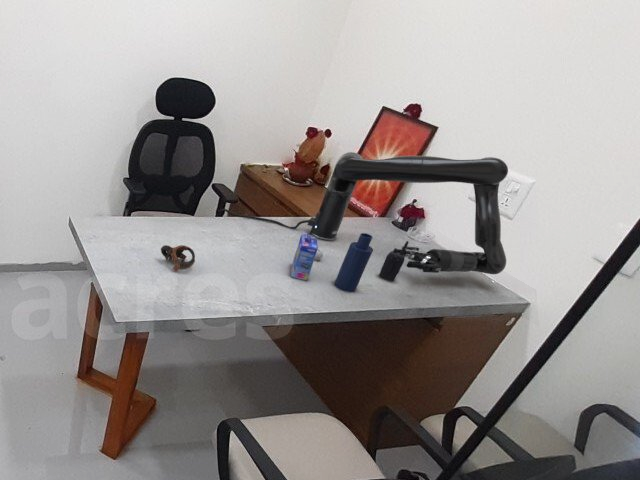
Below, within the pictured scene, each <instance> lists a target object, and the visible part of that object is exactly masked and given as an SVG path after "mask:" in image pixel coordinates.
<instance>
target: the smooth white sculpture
mask: <svg viewBox="0 0 640 480" xmlns="http://www.w3.org/2000/svg"><path fill="white" fill-rule="evenodd" d="M323 256H324V253H323V252H322V251H321V250H320V249H319V248H318V250H317V253H316V256H315V259H314V261H319V260H321V259H322V258H323Z"/></svg>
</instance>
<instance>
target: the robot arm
mask: <svg viewBox="0 0 640 480" xmlns="http://www.w3.org/2000/svg"><path fill="white" fill-rule="evenodd" d="M508 167H509V166H508V165H507V163H506V162H505V161H504V160H502V159H501V158H498V157H493V156H488V157H487V156H486V157H482V158H477V159H453V158H446V157H439V156H432V155H431V156H430V155H400V156H394V157H388V158H383V159H382V158H381V159H374V158H373V159H371V158H363V157H362V156H361V155H360V154H359V153H357V152H355V151H349V152H345V153H344V154H342V155H341V156H339V158H338V159H337V161H336V163H335V165H334V168H333V172H332V174H331V177H330V178H329V179H330V180H329V182H328V183H327V187H326V190H325V193H324V196H323V198H322V201H321V204H320V207H319V210H318V211H317V212H316V215H315V217H314V216H311V217H310V219H306V220H301V221H298V223H296V225H295V226H289V225H286V224H285V223H282V222H280V221H277V220H274V219H271V218H265V217H258V216H254V215H247V214H240V213H235V212H233V211H230V210H229V209H226V208H222V209H220V210H218V212H219V213H222V212H226V213H228V214H229V215H232V216H235V217H239V218H246V219H252V220H257V221H264V222H268V223H272V224H277V225H279V226H282V227H284V228H287V229H290V230H296V229H298V227H300V225H302V224H307V226H310V227H311V228H310V232H309V235H310V236H313V237H317V239H319V240H323V241H330V242H331V241H335V240H336V238H337V235H338V232H339V230H340V227H341V224H342V222H343V220H344V217H345V214H346V212H347V210H348V207H349V204H350V201H351V200H352V196H353V194H354V191H355V189H356V186H357V183H358V181H359V182H361V181H383V182H395V183H396V182H397V183H412V184H414V183H415V184H436V183H437V184H438V183H462V184H469V185H470V184H471V185H473V191H474V199H475V213H474V214H475V215H474V243H475V246H477V247H478V248H481V249H482V250H483V251H461V250H453V249H438V248H432V249H429V250H428V251H423V250H421V251H420V248H419V247H415V246H407V248H406V250H405V252H404V254H403V255H405V258H407V259H408V261H407V263H406V265H405V266H406V267H407V268H409V269H418V270H420V271H422V272H423V273H437V274H438V273H440V272H445V273H452V272H458V273H459V272H460V273H469V272H475V273H483V274H488V275H499V274H500V273H502V272H503V271H504V270H505V269H506V265H507V256H506V253H505V250H504V249H505V248H504V246H503V244H502V241H501V239H502V223H501V222H502V221H501V213H500V205H499V189H500V188H499V187H500V184H501V183H502V182H503V181H504V180H505V179H506V177H507V176H508V175H509V168H508ZM403 247H404V245H403V246H402V247H401V248H397V249H398V250H397V252H398V253H401V251H402V249H403Z"/></svg>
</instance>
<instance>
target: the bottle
mask: <svg viewBox="0 0 640 480" xmlns="http://www.w3.org/2000/svg"><path fill="white" fill-rule="evenodd" d="M373 238H374V237H373V235H371V234H369V233H366V232H361V233H360V234H359V237H358V239H357V241H353V242H350V244H349V246H348V249H347V252H346V254H345V256H344V258H343V261H342V263H341V265H340V268H339V271H338V273H337V275H336V278H335V280H334V286H335V287H336V288H337V289H338V290H340V291H343V292H346V293H354V292H355V291H356V290H357V287H358V285H359V283H360V281H361V279H362V276H363V274H364V271H365V269H366V268H367V265H368V263H369V260H370V258H371V256H372V254H373V252H374V248H373V247H372V246H371V245H370V244H371V243H372V240H373Z"/></svg>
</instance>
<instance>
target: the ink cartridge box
mask: <svg viewBox="0 0 640 480" xmlns="http://www.w3.org/2000/svg"><path fill="white" fill-rule="evenodd" d="M318 249H319V246H318V238H317V237H314V236H313V235H310V234H309V232H308V231H307V232H306V234H301V235H300V237H299V241H298V245H297V247H296V250H295V253H294V256H293V259H292V263H291V269H290V271H291V272H290V273H291V278H294V279H298V280H303V281H308V280H309V276H310V273H311V270H312V268H313V264H314V261H315V256H316V253H317V250H318Z"/></svg>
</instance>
